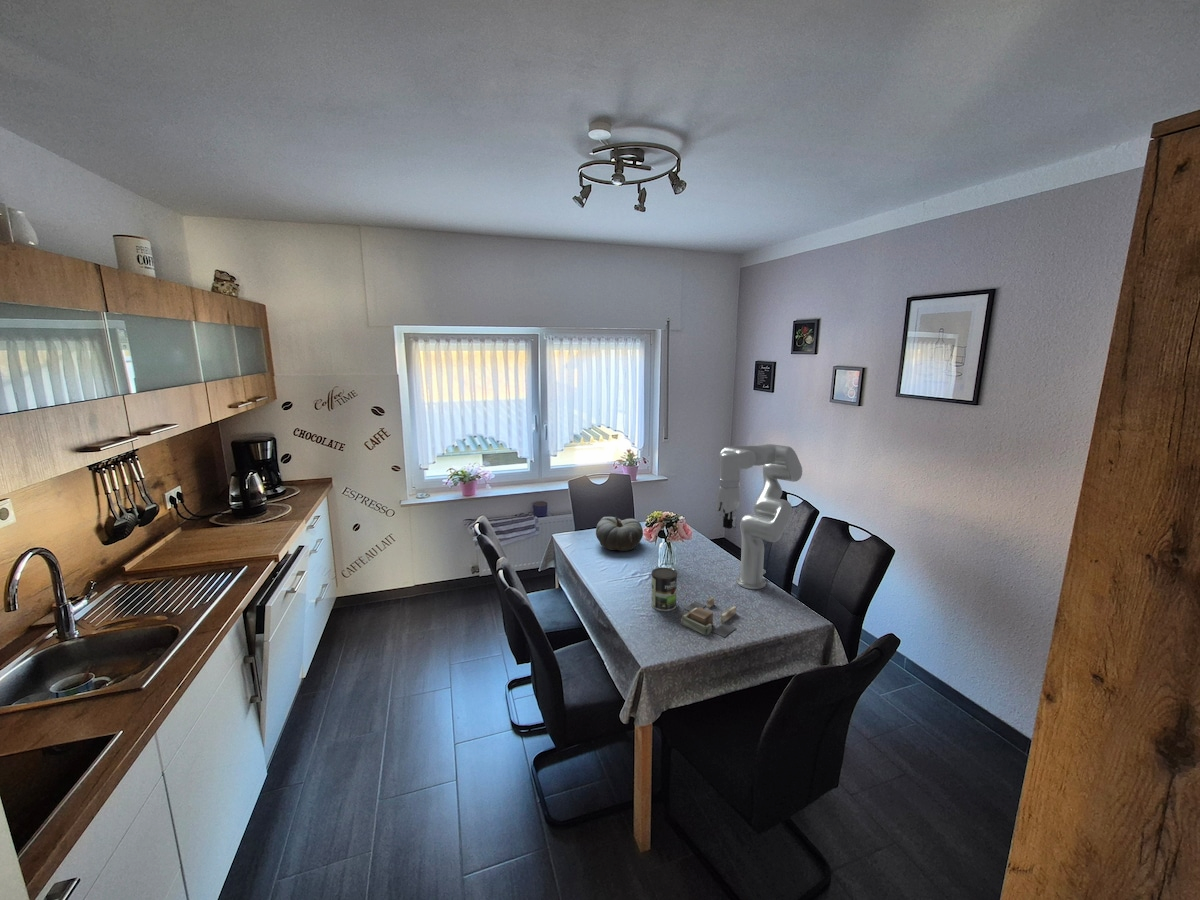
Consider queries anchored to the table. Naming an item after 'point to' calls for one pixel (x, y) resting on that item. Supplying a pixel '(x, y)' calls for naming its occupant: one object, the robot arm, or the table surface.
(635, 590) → the table surface
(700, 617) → the block
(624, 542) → the gourd
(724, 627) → the trap lane
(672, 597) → the coffee can
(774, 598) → the table surface
